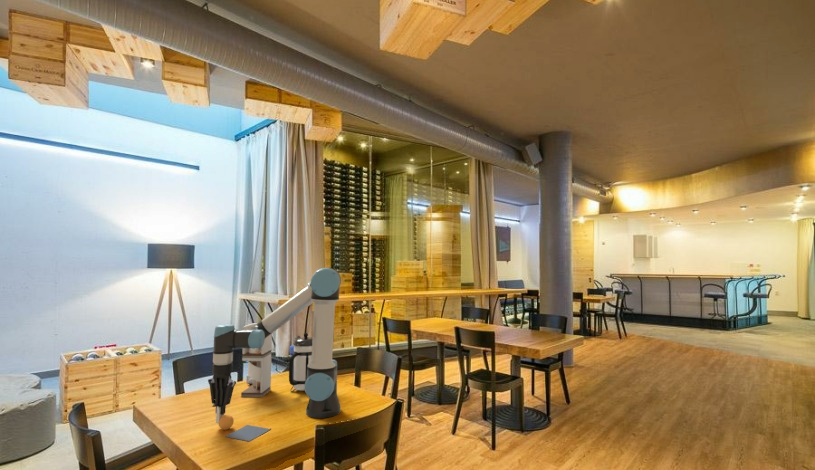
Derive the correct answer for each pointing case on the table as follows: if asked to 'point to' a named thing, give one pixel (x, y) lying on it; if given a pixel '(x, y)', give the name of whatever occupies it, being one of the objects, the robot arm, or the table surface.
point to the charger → (249, 379)
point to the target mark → (247, 433)
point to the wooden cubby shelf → (258, 367)
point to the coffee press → (300, 362)
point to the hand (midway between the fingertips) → (219, 422)
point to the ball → (226, 422)
